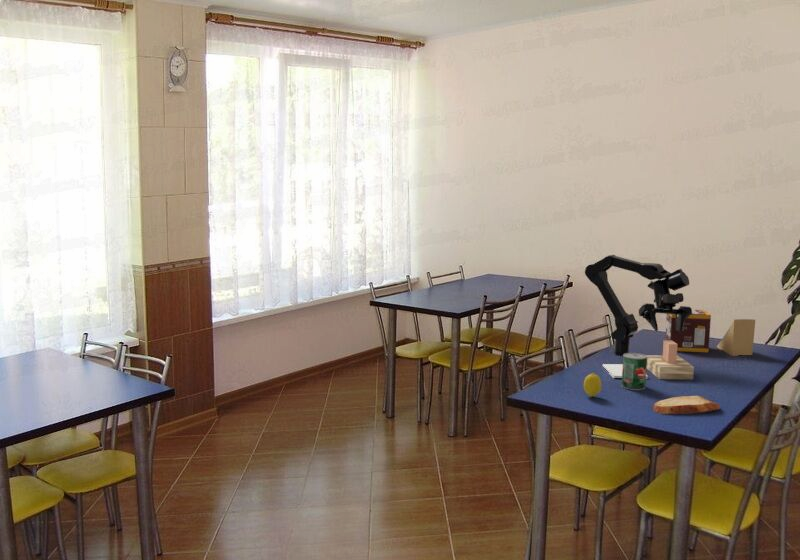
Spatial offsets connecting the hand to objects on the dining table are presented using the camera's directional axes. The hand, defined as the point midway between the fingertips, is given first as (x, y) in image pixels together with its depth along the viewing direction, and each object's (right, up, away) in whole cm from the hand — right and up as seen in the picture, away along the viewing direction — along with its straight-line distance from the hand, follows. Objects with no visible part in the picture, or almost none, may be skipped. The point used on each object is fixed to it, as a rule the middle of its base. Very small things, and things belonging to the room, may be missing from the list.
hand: (668, 331), depth 289 cm
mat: (-18, -14, -5) cm, 24 cm away
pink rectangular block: (-2, -13, -6) cm, 14 cm away
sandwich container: (+36, -10, +29) cm, 47 cm away
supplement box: (+18, -9, +32) cm, 38 cm away
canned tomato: (-20, -17, -23) cm, 35 cm away
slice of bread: (-10, -22, -46) cm, 52 cm away
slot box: (-2, -15, -5) cm, 16 cm away
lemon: (-37, -19, -35) cm, 54 cm away
